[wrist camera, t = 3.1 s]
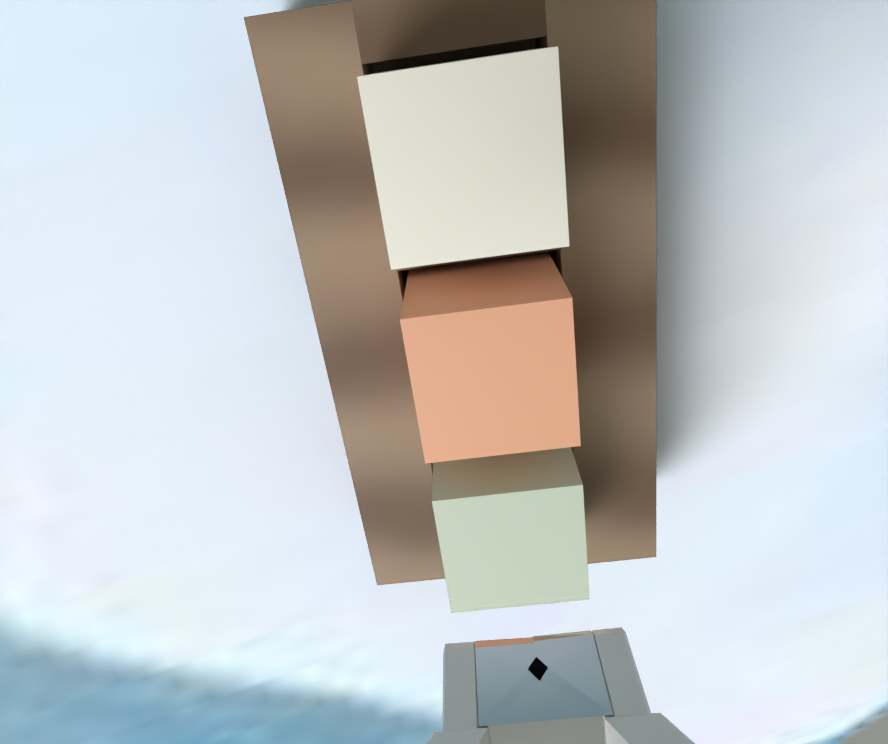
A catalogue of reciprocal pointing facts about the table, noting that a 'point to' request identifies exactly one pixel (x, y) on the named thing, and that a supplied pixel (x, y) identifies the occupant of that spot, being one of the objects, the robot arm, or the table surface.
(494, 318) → the terracotta key
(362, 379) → the board
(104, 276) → the table surface
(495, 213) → the cream key
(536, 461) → the sage key
